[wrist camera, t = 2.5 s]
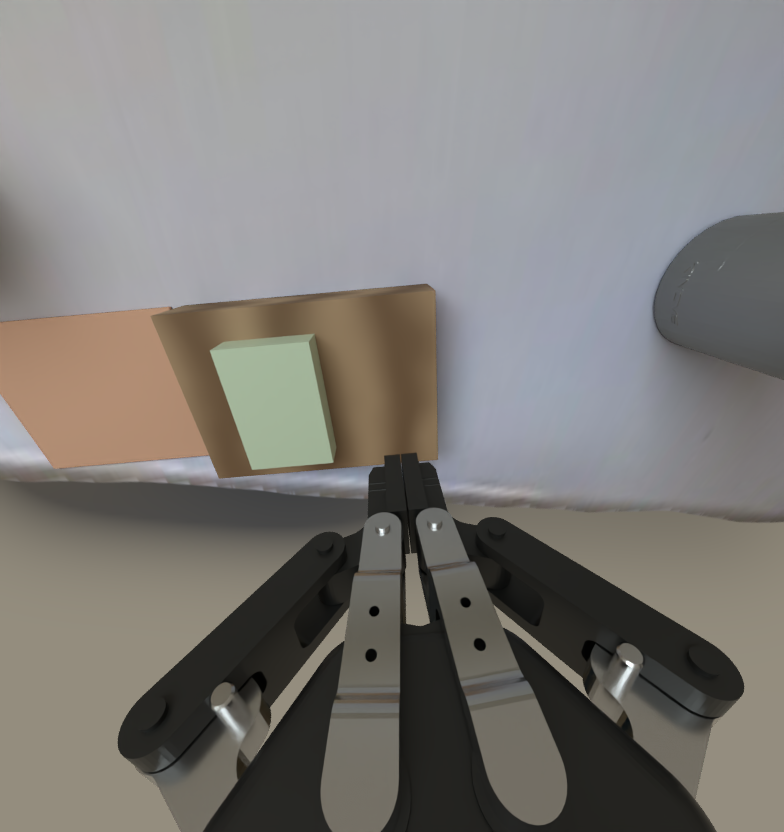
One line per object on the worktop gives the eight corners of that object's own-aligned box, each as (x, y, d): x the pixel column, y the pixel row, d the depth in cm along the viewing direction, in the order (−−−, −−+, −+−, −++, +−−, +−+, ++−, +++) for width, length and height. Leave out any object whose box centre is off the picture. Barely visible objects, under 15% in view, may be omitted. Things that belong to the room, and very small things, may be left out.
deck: (426, 283, 24) (435, 290, 20) (430, 434, 30) (437, 459, 26) (184, 305, 24) (150, 316, 20) (238, 450, 30) (219, 478, 26)
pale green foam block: (314, 333, 21) (308, 341, 19) (336, 447, 25) (333, 462, 24) (223, 341, 21) (209, 350, 19) (261, 454, 25) (252, 469, 24)
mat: (170, 306, 24) (168, 307, 23) (227, 451, 30) (226, 453, 30) (-44, 325, 24) (-48, 326, 24) (57, 466, 30) (54, 468, 30)
